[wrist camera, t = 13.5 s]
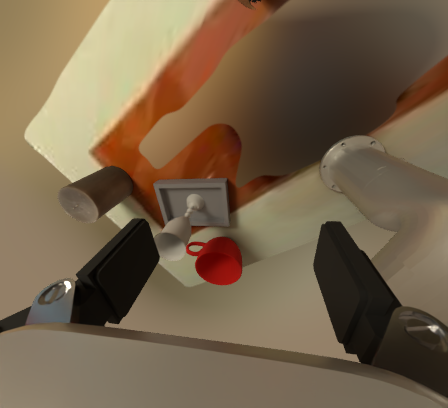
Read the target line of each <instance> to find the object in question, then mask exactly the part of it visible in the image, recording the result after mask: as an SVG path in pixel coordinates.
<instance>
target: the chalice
mask: <svg viewBox="0 0 448 408" xmlns="http://www.w3.org/2000/svg"><path fill="white" fill-rule="evenodd" d="M203 206H204V200H203V198H202V197H201V196H199V195H197V194H191V195H189V196H188V197H187V207H188V208H189V209H187V213H185V216H181V217H178V218H175V219H173V220H171V221H170V222H168V223H167V225H166V226H165V227H164V229H163V230H162V232H161V233H159V234H157V235H156V236H155V237H154V241H155V244H156V246H157V249H158V252H159V255H160V256H161V257H162V258H164V259H167V260H171V261H176V260H180V259H182V258H183V257H184V256H185V253H186V246H187V243H188V241H189V239H190V237H191V224H190V220H189V218H190V217H191V215H190V214H193V211H198V210H200V209H202V208H203Z"/></svg>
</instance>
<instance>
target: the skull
mask: <svg viewBox="0 0 448 408" xmlns="http://www.w3.org/2000/svg"><path fill="white" fill-rule="evenodd" d="M239 1H240V2H241V3H242V4H243V5H244V6H246V7H248V8H251V9H255V8H254V7H253V6H252V5H251V4H250V1H251V0H239ZM256 1H260V0H252V1H251V2H256ZM260 2H261V1H260ZM256 3H257V2H256ZM255 10H256V9H255Z"/></svg>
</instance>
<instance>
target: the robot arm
mask: <svg viewBox="0 0 448 408" xmlns="http://www.w3.org/2000/svg"><path fill="white" fill-rule="evenodd" d="M371 142H372V143H371ZM342 143H343V144H342ZM341 144H342V145H341ZM323 166H325V167H323ZM320 176H321V179H322V181H323V182H324V183H325V185H327V186H328V187H329V188H330V189H332V190H335V191H338V192H343V193H344V194H345V195H346V196H347V197H348V199H349V200H350V201H351V202H352V203H353V204H354V205H355V206H356V207H357V208H358V209H359V210H360V212H361V213H362V214H363V215H364V216H365V217H366V218H367V219H368V220H369V221H370V222H371V223H373V224H375V225H376V226H378V227H380V228H383V229H386V230H389V231H394V232H397V233H396V234H395V235H394V236H393V237H392V238H391V239H390V240H389V242H388V243H387V244H386V245H385V246H384V247H383V248H382V249H381V250H380V251H379V252H378V253H377V254H376V255H375V256H374V257H373V258H372V259H371V260H370V259H369V258H368V256H367V255H366V253H365V252H364V251H362V250H360V249H359V248H358V246H357V245H356V243H355V242H354V240H353V239H352V238H351V236H350V235H349V233H348V232H347V230H346V229H345V227H344V226H343V224H342V223H341V222H337V221H327V222H326V223H325V224H322V226H321V230H320V235H319V239H318V244H317V249H316V254H315V259H314V265H313V266H314V272H315V275H316V278H317V280H318V284H319V286H320V290H321V293H322V296H323V298H324V302H325V304H326V307H327V311H328V314H329V317H330V320H331V322H332V325H333V328H334V331H335V334H336V337H337V340H338V342H339V343H342V344H343V345H344V348H345V351H346V353H350V354H357V357H358V359H359V362H361V363H358V362H352V361H347V360H343V359H337V358H331V357H324V356H318V355H312V354H305V353H299V352H292V351H285V350H278V349H271V348H264V347H256V346H249V345H242V344H234V343H227V342H219V341H211V340H205V339H197V338H189V337H182V336H174V335H166V334H159V333H151V332H143V331H135V330H127V329H119V328H111V327H105V326H104V325H105V323H106V322H107V321H108V322H109V323H114V324H119V323H120V321H121V320H122V318H123V317H125V316H126V315H127V313H128V312H129V310H130V308H131V307H132V305H133V303H134V302H135V300H136V298H137V297H138V295H139V293H140V292H141V290H142V288H143V287H144V285H145V283H146V282H147V280H148V278H149V277H150V275H151V273H152V272H153V270H154V268H155V267H156V265H157V263H158V262H159V259H160V255H159V252H158V249H157V246H156V244H155V241H154V238H153V235H152V232H151V229H150V226H149V223H148V222H147V221H146V220H145V219H138V218H135V219H132V220H131V221H130V222H129V223H128V224H127V225H126V226H125V227H124V228H123V229H122V230H121V231H120V232H119V233H118V234H117V235H116V236H115V237H114V238H113V239H112V240H111V241H109V242H108V243H107V244H106V245H105V246H104V247H103V248H102V249H101V250H100V251H99V252H98V253H97V254H96V255H95V256H94V257H93V258H92V259H91V260H90V261H89V262H88V263H87V264H86V265H85V266H84V267H83V268H82V269H81V270H80V271H79V272H78V273H77V274H76V276H77V277H78V280H77V281H76V282H75V281H74V280H73V279H70V278H67V279H62V280H59V281H56V282H54V283H52V284H50V285H49V286H47V287H46V288H44V290H42V291H41V292H40V293H39V294H38V295H37V296H36V297H35V299H34V301H33V304H32V306H30V307H28V308H26V309H24V310H22V311H20V312H17V313H15V314H13V315H11V316H9V317H7V318H5V319H3V320H0V408H448V179H447V178H444V177H442V176H439V175H436V174H434V173H432V172H429V171H427V170H424V169H422V168H420V167H417V166H415V165H413V164H410V163H408V162H405V159H404V158H396V157H394V156H391V155H389V154H387V153H386V152H385V149H384V147H383V146H382V144H381V143H380V142H379V141H378V140H376V139H374V138H371V137H368V136H362V135H360V136H351V137H348V138H345V139H343V140H341V141H339V142H337V143H336V144H334V145H333V146H332V147H331V148H330V149H329V150H328V151H327V152H326V154H325V155H324V157H323V159H322V161H321V164H320Z"/></svg>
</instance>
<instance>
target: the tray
mask: <svg viewBox="0 0 448 408" xmlns="http://www.w3.org/2000/svg"><path fill="white" fill-rule="evenodd" d="M153 185H154V188H155V192H156V195H157V198H158V202H159V205H160V209H161V212H162V216H163V219H164V222H165V225H167V223H168V222H170V221H171V220H173V219H175V218H178V217H181V216H185V213H187V209H189V208H188V207H187V197H188V196H189V195H191V194H197V195H199V196H201V197H202V198H203V200H204V206H203V208H202V209H200V210H198V211H193V214H190V215H191V217H190V218H189V220H190V224H191V226H229V225H230V208H229V196H228V184H227V178H216V179H174V180H158V181H157V182H155V183H154V184H153Z"/></svg>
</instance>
